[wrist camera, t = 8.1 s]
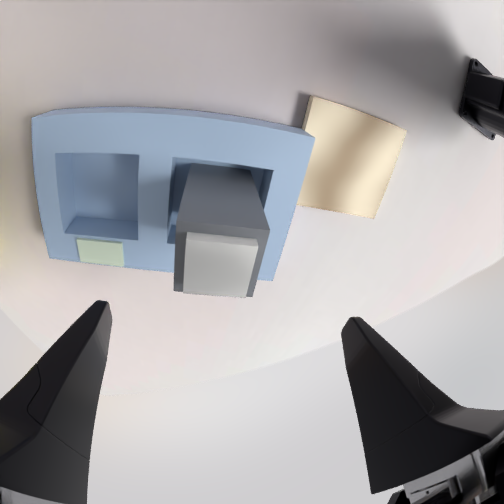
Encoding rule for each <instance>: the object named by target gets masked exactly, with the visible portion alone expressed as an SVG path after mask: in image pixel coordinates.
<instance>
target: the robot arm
mask: <svg viewBox="0 0 504 504" xmlns="http://www.w3.org/2000/svg"><path fill="white" fill-rule="evenodd" d="M459 115H460V116H461V117H462V118H463V119H464V120H466V121H467V122H468V123H470V124H471V125H472V126H474V127H475V128H476V129H478V130H479V131H480V132H481V133H483V134H484V135H485V136H486V137H487V138H489V139H491V140H494V138H495V135H496V134H497V135H500V136H502V137H504V78H500V77H497V76H493V75H492V74H491V73H490V72H489V71H488V70H487V69H486V68H485V67H484V66H483V65H482V64H481V63H480V62H479V61H478V60H477V59H473V58H472V59H471V60H470V65H469V71H468V76H467V80H466V85H465V90H464V94H463V98H462V102H461V106H460V110H459ZM111 326H112V315H111V311H110V306H109V303H108V302H107V301H101V300H97V301H96V302H95V303H94V304H93V305H92V306H91V307H90V308H88V309H87V310H86V311H85V312H84V313H83V314H82V315H81V316H80V317H79V318H78V319H77V320H76V321H75V322H74V323H73V324H72V325H71V326H70V328H69V329H68V330H67V331H66V332H65V333H64V334H63V335H62V336H61V337H60V338H59V339H58V340H57V341H56V342H55V343H54V344H53V345H52V346H51V347H50V348H49V350H48V351H47V352H46V353H45V354H44V355H43V356H42V357H41V358H40V359H39V361H38V362H37V363H38V364H37V363H36V364H35V365H34V366H33V367H32V368H31V369H30V370H29V371H28V373H27V374H26V375H25V376H24V377H23V378H22V379H21V380H20V381H19V382H18V383H17V384H16V385H15V386H14V387H13V388H12V389H11V390H10V391H9V392H8V393H7V394H5V395H4V396H3V398H1V400H0V504H87V486H88V473H89V462H90V461H89V460H90V452H91V443H92V436H93V429H94V422H95V416H96V410H97V404H98V399H99V394H100V389H101V384H102V380H103V375H104V371H105V366H106V361H107V355H108V347H109V340H110V333H111ZM341 337H342V343H343V350H344V357H345V364H346V370H347V374H348V378H349V382H350V386H351V391H352V395H353V399H354V404H355V408H356V413H357V417H358V422H359V427H360V432H361V437H362V442H363V447H364V453H365V458H366V464H367V470H368V476H369V482H370V489H371V494H375V493H378V492H382V491H385V490H388V489H391V488H394V487H397V486H400V485H403V486H404V489H402V490H400V491H398V492H395V493H393V494H392V496H391V498H390V500H389V502H388V504H504V410H500V411H498V410H484V409H474V408H466V407H463V406H461V405H459V404H457V403H456V402H455V401H453V400H452V399H451V398H450V397H448V396H447V395H446V394H445V393H443V392H442V391H441V390H440V389H438V388H437V387H436V386H435V385H434V384H432V383H431V382H430V381H429V380H428V379H427V378H426V377H425V376H423V374H422V373H420V372H419V371H418V370H417V369H416V368H415V367H414V366H413V365H412V364H411V363H410V362H409V361H408V360H407V359H405V358H404V357H403V356H402V355H401V354H400V353H399V352H398V351H397V350H396V349H395V348H394V347H392V346H391V345H390V344H389V343H388V342H387V341H386V340H385V339H384V338H383V337H381V335H379V334H378V333H377V332H376V331H375V330H374V329H373V328H372V327H371V326H370V325H368V324H367V323H366V322H365V321H364V320H363V319H362V318H360V317H350V318H349V319H348V321H347V323H346V324H345V326H344V327H343V329H342V332H341Z"/></svg>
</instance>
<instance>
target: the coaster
mask: <svg viewBox="0 0 504 504" xmlns="http://www.w3.org/2000/svg"><path fill="white" fill-rule="evenodd" d="M302 129H303V130H304V131H306V132H307V133H309V134H310V135H312V136H313V137H315V142H314V146H313V149H312V153H311V156H310V160H309V163H308V167H307V170H306V174H305V177H304V180H303V184H302V187H301V191H300V194H299V197H298V201H297V204H296V205H300V206H306V207H312V208H318V209H324V210H329V211H335V212H340V213H346V214H351V215H357V216H362V217H367V218H372V219H374V218H375V215H376V213H377V211H378V208H379V206H380V203H381V201H382V198H383V196H384V193H385V191H386V188H387V186H388V183H389V180H390V178H391V175H392V172H393V170H394V167H395V164H396V161H397V158H398V156H399V153H400V150H401V147H402V144H403V141H404V138H405V135H406V130H404V129H402V128H400V127H398V126H395V125H393V124H391V123H388V122H386V121H384V120H381V119H379V118H376V117H374V116H371V115H368V114H366V113H363V112H360V111H358V110H355V109H352V108H349V107H346V106H343V105H340V104H337V103H334V102H331V101H328V100H325V99H321V98H318V97H314V96H310V98H309V102H308V106H307V110H306V114H305V117H304V121H303V125H302Z"/></svg>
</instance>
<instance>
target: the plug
mask: <svg viewBox="0 0 504 504" xmlns="http://www.w3.org/2000/svg"><path fill="white" fill-rule="evenodd" d="M269 233H270V228H269V225H268V222H267V219H266V216H265V213H264V210H263V207H262V204H261V201H260V198H259V195H258V192H257V189H256V186H255V183H254V180H253V177H252V174H251V171H250V170H247V169H240V168H232V167H225V166H216V165H208V164H199V163H191V167H190V170H189V174H188V177H187V181H186V185H185V188H184V192H183V196H182V200H181V204H180V208H179V212H178V216H177V220H176V235H175V258H174V291H178V292H183V293H187V294H199V295H211V296H225V297H240V298H246V297H252V296H253V292H254V289H255V285H256V282H257V278H258V274H259V271H260V267H261V263H262V259H263V256H264V252H265V248H266V245H267V241H268V237H269Z"/></svg>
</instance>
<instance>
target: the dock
mask: <svg viewBox="0 0 504 504" xmlns="http://www.w3.org/2000/svg"><path fill="white" fill-rule="evenodd" d="M314 142H315V137H313V136H312V135H310V134H309V133H307V132H306V131H304V130H303V129H301V128H296V127H292V126H288V125H283V124H278V123H273V122H268V121H263V120H258V119H252V118H246V117H240V116H234V115H227V114H220V113H212V112H203V111H194V110H183V109H171V108H154V107H86V108H70V109H58V110H52V111H49V112H46V113H43V114H41V115H38V116H35V117H32V153H33V166H34V177H35V185H36V193H37V200H38V206H39V212H40V218H41V223H42V228H43V233H44V237H45V242H46V246H47V250H48V254H49V258H52V259H59V260H67V261H75V262H83V263H91V264H99V265H107V266H116V267H125V268H134V269H143V270H153V271H163V272H173V273H174V258H175V235H176V220H177V216H178V212H179V208H180V204H181V200H182V196H183V192H184V188H185V185H186V181H187V177H188V174H189V170H190V167H191V163H199V164H208V165H216V166H225V167H232V168H240V169H247V170H250V171H251V174H252V177H253V180H254V183H255V186H256V189H257V192H258V195H259V198H260V201H261V204H262V207H263V210H264V213H265V216H266V219H267V222H268V225H269V228H270V233H269V237H268V241H267V245H266V248H265V252H264V256H263V259H262V263H261V267H260V271H259V274H258V278H257V280H267V281H273V278H274V275H275V272H276V269H277V266H278V262H279V259H280V256H281V253H282V250H283V247H284V243H285V240H286V237H287V234H288V230H289V227H290V224H291V221H292V217H293V214H294V211H295V207H296V204H297V201H298V197H299V194H300V191H301V187H302V184H303V180H304V177H305V174H306V170H307V167H308V163H309V160H310V156H311V153H312V149H313V146H314Z"/></svg>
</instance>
